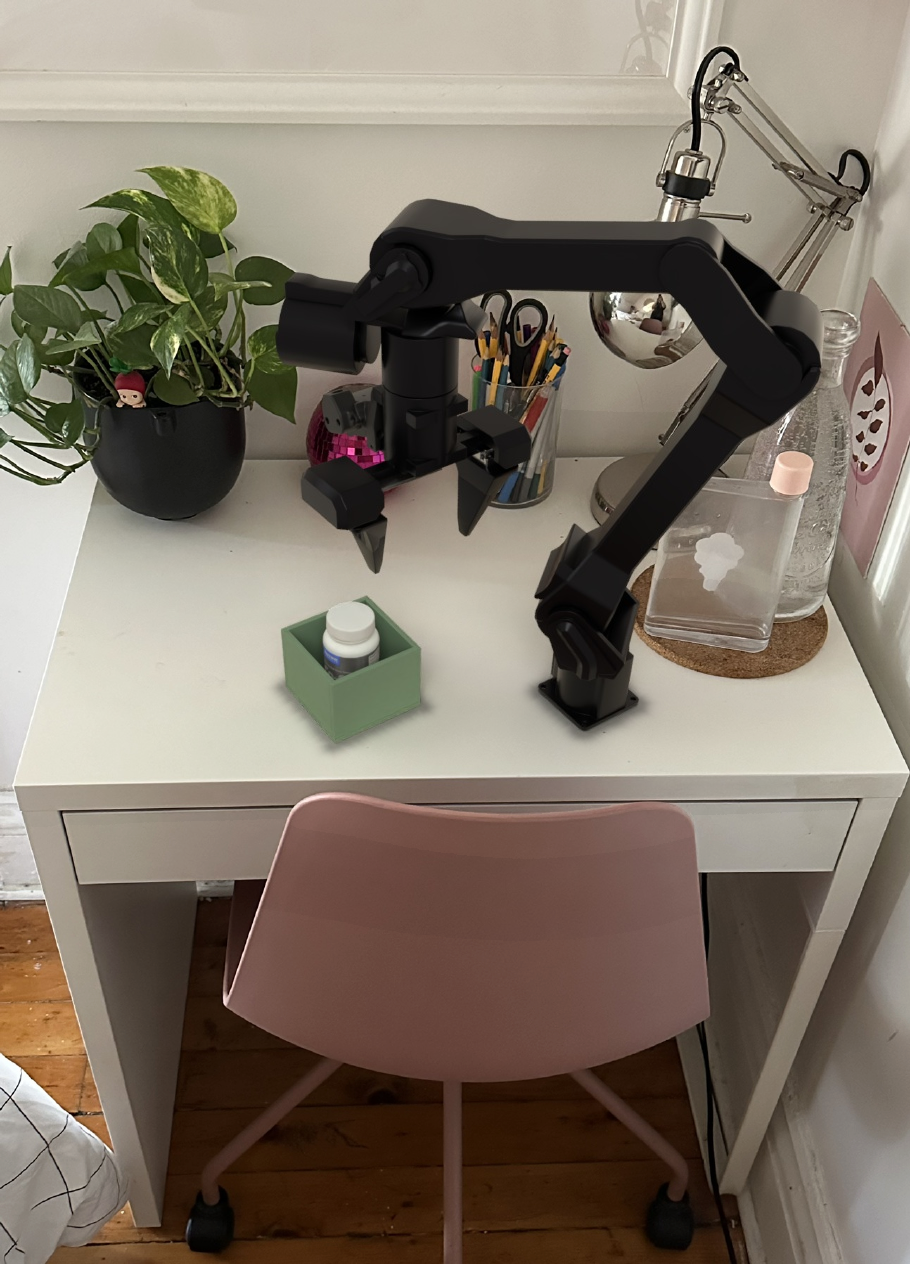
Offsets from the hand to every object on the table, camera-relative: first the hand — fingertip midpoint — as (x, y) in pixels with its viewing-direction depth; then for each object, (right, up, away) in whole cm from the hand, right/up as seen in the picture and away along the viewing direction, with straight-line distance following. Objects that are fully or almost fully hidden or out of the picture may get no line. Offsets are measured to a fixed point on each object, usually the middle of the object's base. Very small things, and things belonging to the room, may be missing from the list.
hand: (420, 552), depth 95 cm
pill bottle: (-6, -12, +4) cm, 14 cm away
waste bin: (-6, -12, +4) cm, 14 cm away
